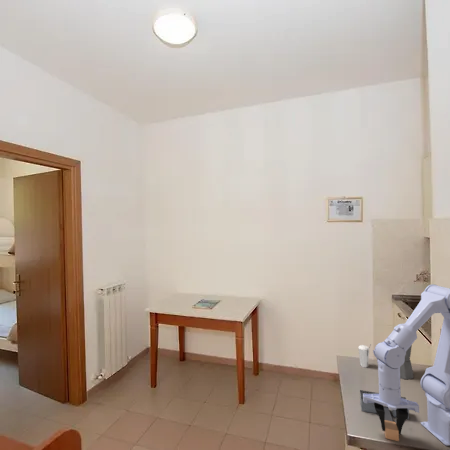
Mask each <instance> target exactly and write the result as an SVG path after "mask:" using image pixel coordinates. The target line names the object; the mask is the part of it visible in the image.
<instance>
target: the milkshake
mask: <svg viewBox="0 0 450 450" xmlns="http://www.w3.org/2000/svg"><path fill="white" fill-rule="evenodd" d="M371 346H372V344H369V346H367V345H365V344H359V346H357V348H358V354H359V364H360V367H362V368H364V369H365V368H369V359H370V358H369V355H370V348H371Z"/></svg>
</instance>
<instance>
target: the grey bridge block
mask: <svg viewBox="0 0 450 450" xmlns="http://www.w3.org/2000/svg"><path fill="white" fill-rule="evenodd" d="M363 393H364V394H379V392H376V391H375V392H374V391H370V390H369V391H368V390H361V389H360V390H359V399H360V400H359V403H360V404H359V405H360V409H361V412H365V413H371V414H377V412H376V410H375V406H374V403H364V401H363ZM401 398H403V399H406V400H407V398H406V397H405V396H401ZM407 410H408V409H407ZM390 413H392V414H391V416H392V418H396V410H393V409H390ZM408 414H409V416H408V418H407V419H406V421H407V420H408V421H409V420H410V410H408Z"/></svg>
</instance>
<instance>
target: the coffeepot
mask: <svg viewBox="0 0 450 450" xmlns="http://www.w3.org/2000/svg"><path fill="white" fill-rule="evenodd" d="M412 345H413V344H412ZM412 345H411V346H410V347H409V349H408V350H407V351H406V355H405V361H404V364H403V365H401V366H400V380H401V379H402V380H411V379H414V371H413V366H412V362H411V354H412V353H411V352H412Z"/></svg>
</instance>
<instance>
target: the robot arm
mask: <svg viewBox="0 0 450 450" xmlns="http://www.w3.org/2000/svg"><path fill="white" fill-rule="evenodd" d="M434 314H441V315H442V317H443V321H442V325H441V330H440V336H439V340H438V344H437V349H436V353H435V357H434V362H433V366H430V367H427V368H425V372H424V374H423V375H422V377H421V378H420V382H419V383H420V387H421V388H420V389H422V391H424V393H425V394H424V395H425V397H426V407H427V408H426V409H427V421H420V425H421V426H422V427H424V428H425V429H426V430H427V431H428V432H430V433H431V434H432V435H433V436H434V437H435V438H436V439H438V441H440V442H441V443H443V445H444V446H447V447H448V446H450V287H445V286H440V285H437V284H434V283H433V284H428V286H426V288H424V291H423V292H421V294H420V301H419V303H418V304H417V306H415V308H414V310H413V312H412V313H411V315H410V316H409V317H408V318H407V319H406V321H405V323H404V322H403V323H399V324H397V325H395V326H394V327H393V330H392V331H391V333H390V334H389V335H388V336H387V337H386V338H385V339H384V341H381V342H378V343H377V344H376V345H375V346H374V349H373V350H372V353H373V355H374V357H375V358H376V361H377V362H376V363H377V374H378V376H377V377H378V378H377V379H378V393H379V394H364V393H363V401H364V403H374V406H375V410H376V414H377V416H378V418H379V422H380V425H381V431H383V432H384V431H385V411H384V407H383V406H386V407H388V408H389V410H391V409H393V410H396V417H395V419H396V421H395V422H396V425H397V428H398V431H399V435H402V429H403V427H404V424H405V422H406V421H407V418H408V416H409V417H410V413H409V414H408V410H409V411H413V412H415V413H418V414H419V413H420V405H419V404H418V402H416V401H412V400H409V399H407V398H406V399H403V398H401V397H402V396H401V395H402V393H401V378H400V366H401V365H403V364H404V361H405V355H406V351H407V350H408V349H409V347H410V346H411V345H413V344H414V342H415V341H416V340H417V339H418V334H417V331H419V330H420V328H421V327H422V326H423V325H424V324H425V323H426V322H427V321H429V319H430V318H432V316H433V315H434ZM407 409H408V410H407Z"/></svg>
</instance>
